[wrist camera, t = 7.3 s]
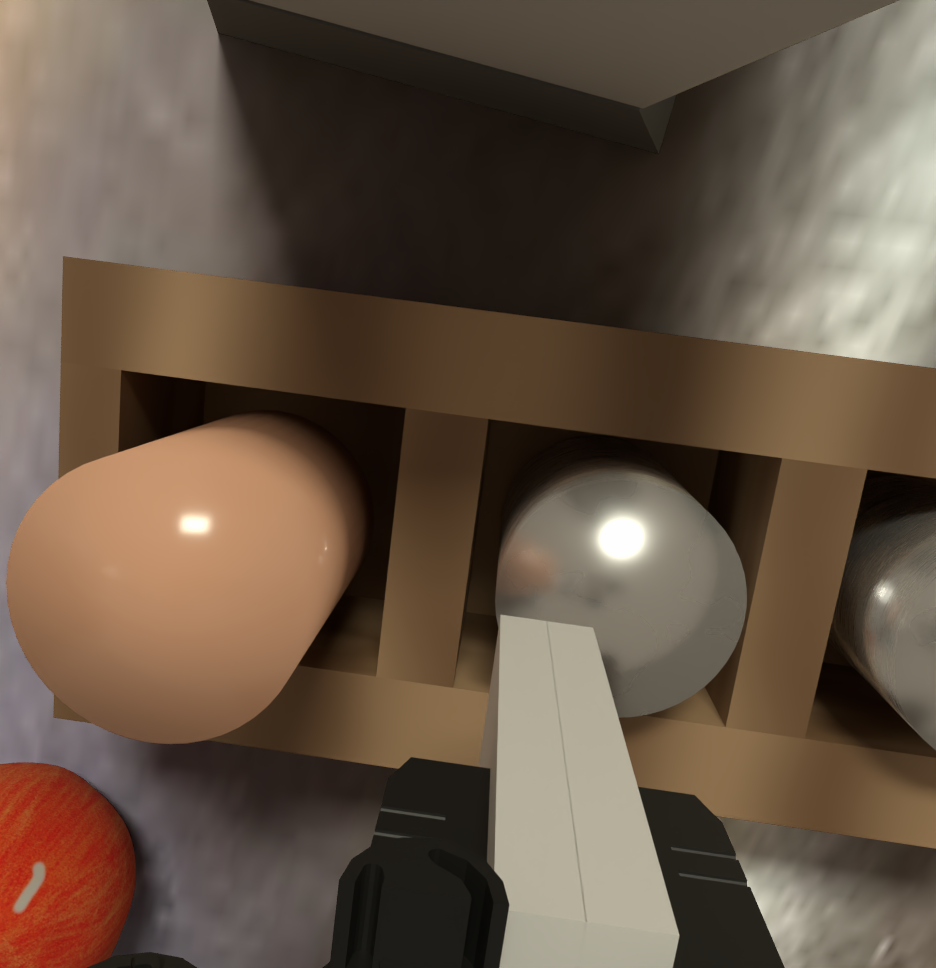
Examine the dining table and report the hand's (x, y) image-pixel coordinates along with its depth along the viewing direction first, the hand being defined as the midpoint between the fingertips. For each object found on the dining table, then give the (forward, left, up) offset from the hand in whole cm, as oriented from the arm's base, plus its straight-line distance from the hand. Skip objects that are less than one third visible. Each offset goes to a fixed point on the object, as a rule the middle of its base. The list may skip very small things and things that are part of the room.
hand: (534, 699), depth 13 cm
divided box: (+2, 0, -13) cm, 13 cm away
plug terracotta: (-7, 0, -9) cm, 11 cm away
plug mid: (+2, 0, -12) cm, 12 cm away
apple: (-15, -14, -13) cm, 24 cm away
